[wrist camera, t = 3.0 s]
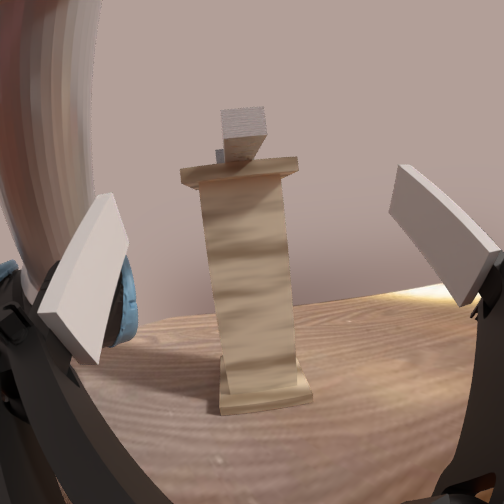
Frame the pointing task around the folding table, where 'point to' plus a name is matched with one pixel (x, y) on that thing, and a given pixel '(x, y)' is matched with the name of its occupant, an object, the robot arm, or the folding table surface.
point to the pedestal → (251, 282)
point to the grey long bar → (241, 134)
